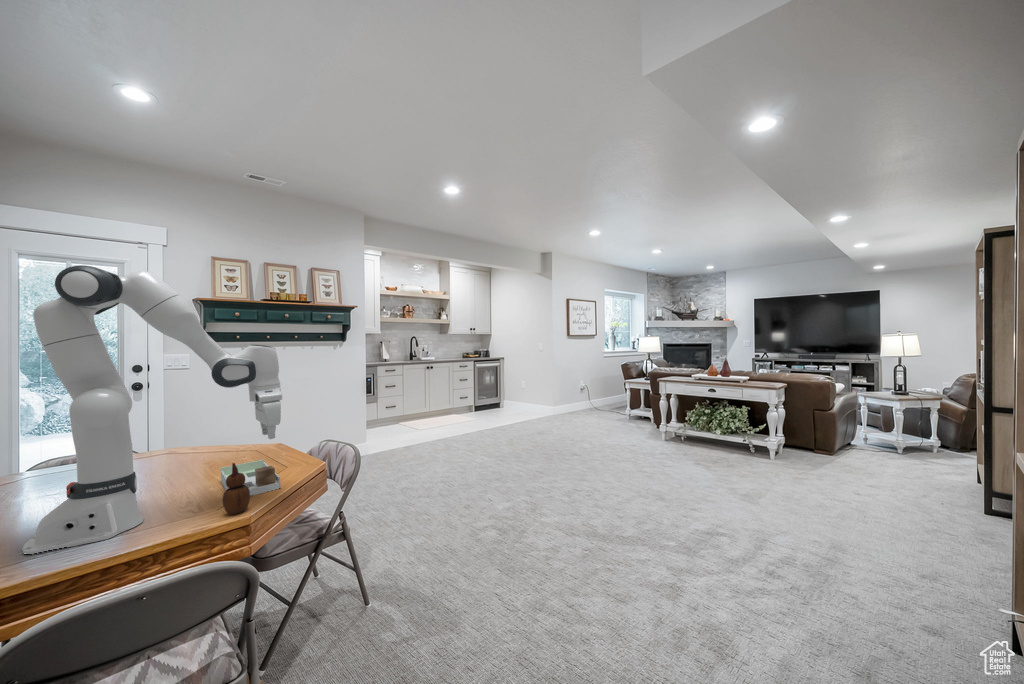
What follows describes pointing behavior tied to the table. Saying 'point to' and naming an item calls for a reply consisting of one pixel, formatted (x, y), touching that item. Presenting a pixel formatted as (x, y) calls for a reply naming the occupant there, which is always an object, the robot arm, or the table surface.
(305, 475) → the table surface
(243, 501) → the wooden figurine
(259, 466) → the box
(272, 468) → the walnut block
